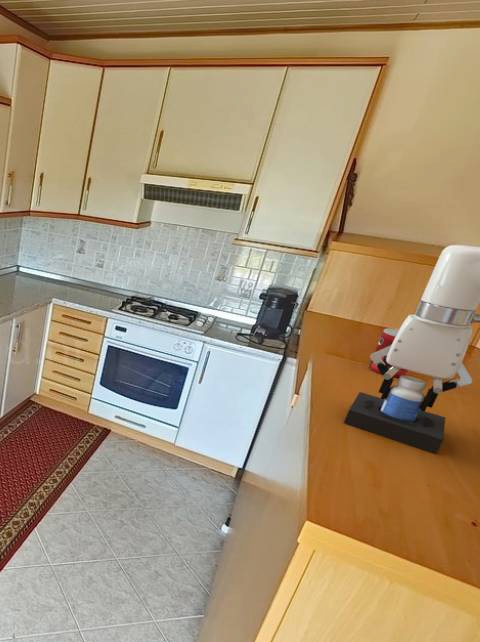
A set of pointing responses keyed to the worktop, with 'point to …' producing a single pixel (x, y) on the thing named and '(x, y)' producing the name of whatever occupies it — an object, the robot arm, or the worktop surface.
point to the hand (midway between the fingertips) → (402, 402)
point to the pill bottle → (404, 398)
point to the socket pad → (396, 424)
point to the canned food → (384, 342)
